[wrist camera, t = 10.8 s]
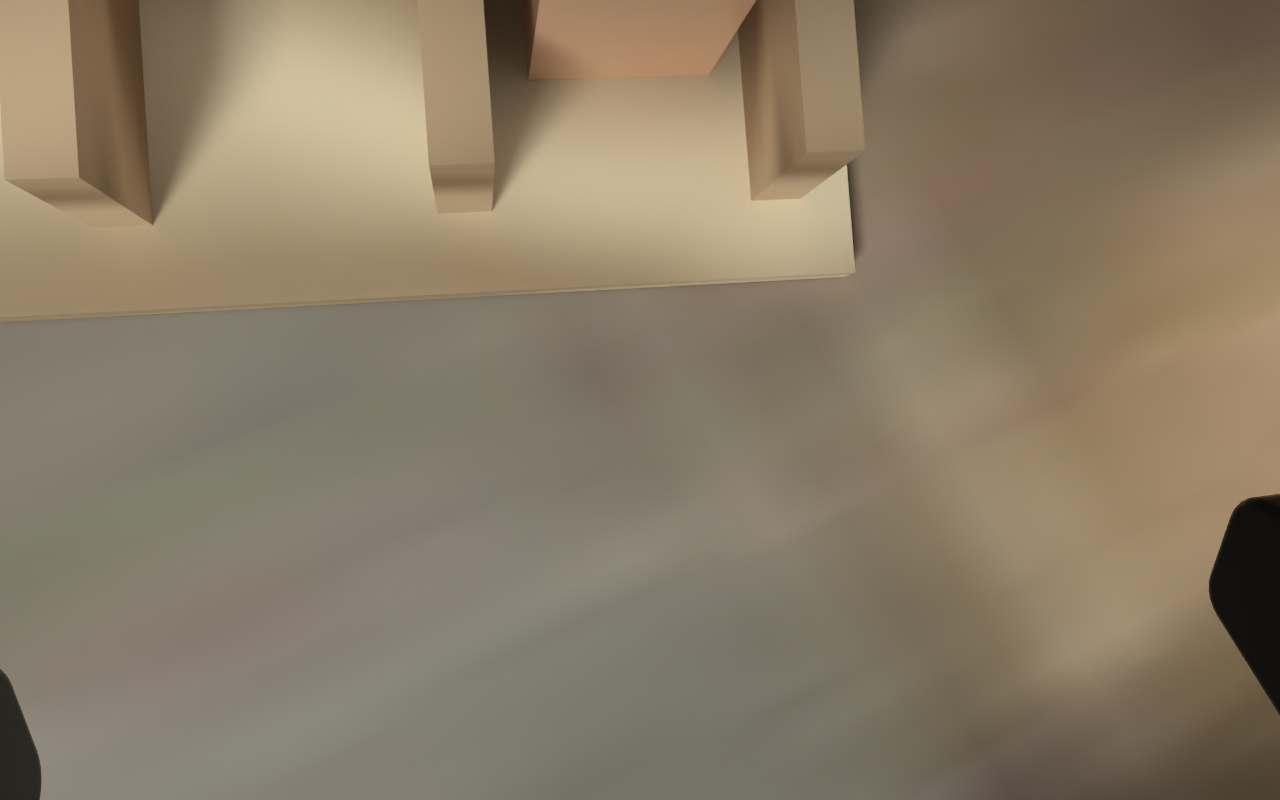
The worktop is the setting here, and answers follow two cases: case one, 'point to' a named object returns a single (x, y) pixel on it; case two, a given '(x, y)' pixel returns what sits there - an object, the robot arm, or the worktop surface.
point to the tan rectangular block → (627, 37)
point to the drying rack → (402, 157)
